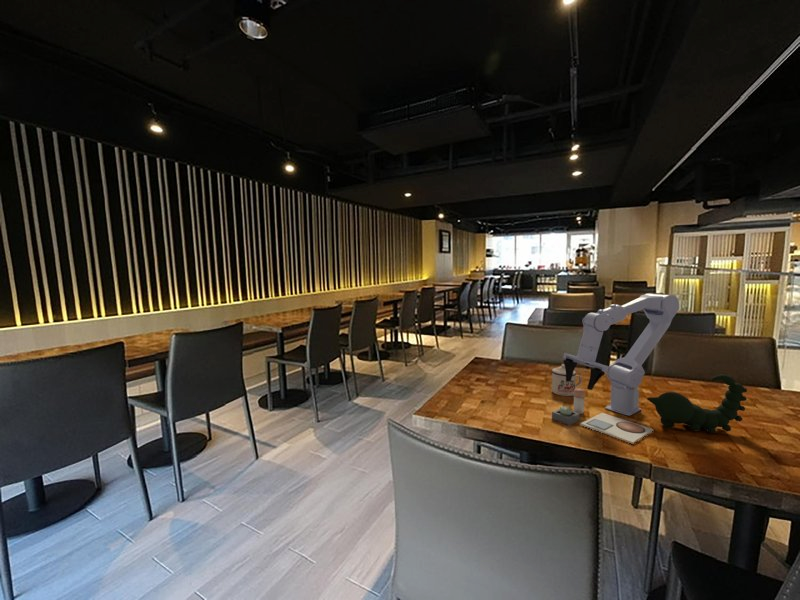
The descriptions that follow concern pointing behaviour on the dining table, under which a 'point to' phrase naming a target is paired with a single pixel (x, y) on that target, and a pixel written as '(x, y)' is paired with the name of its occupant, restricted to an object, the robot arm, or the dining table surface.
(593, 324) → the robot arm
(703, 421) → the toy figurine
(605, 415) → the picture board
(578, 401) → the small capped bottle
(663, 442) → the dining table surface
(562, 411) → the button
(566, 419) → the button housing
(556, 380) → the teacup with lid
